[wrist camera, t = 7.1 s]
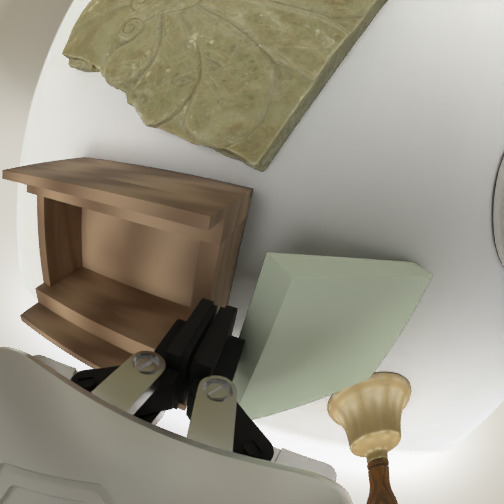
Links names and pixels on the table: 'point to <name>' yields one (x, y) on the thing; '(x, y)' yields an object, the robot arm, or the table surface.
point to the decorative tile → (220, 63)
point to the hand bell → (373, 425)
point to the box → (127, 253)
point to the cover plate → (320, 326)
